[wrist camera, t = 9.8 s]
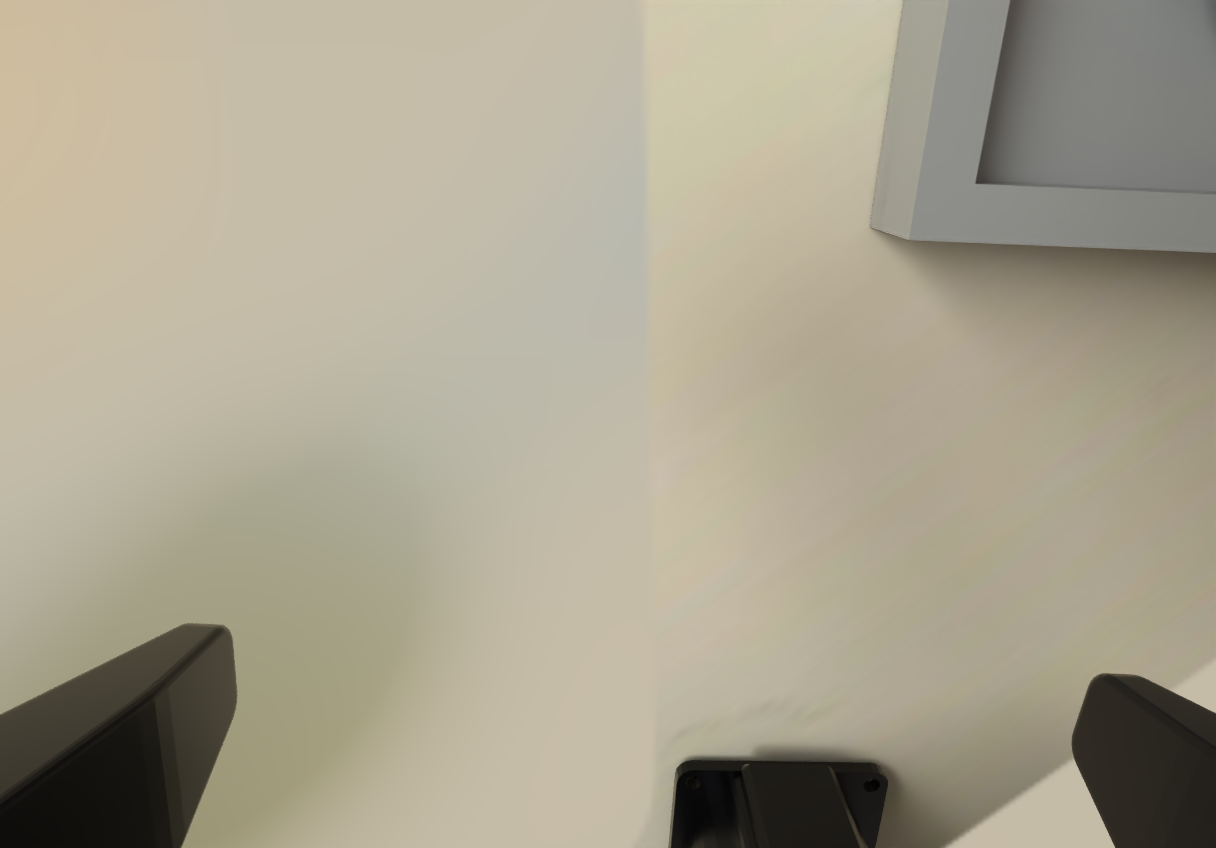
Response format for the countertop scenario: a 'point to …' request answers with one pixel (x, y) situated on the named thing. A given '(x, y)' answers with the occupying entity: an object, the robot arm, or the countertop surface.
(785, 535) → the countertop surface
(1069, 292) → the countertop surface
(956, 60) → the tray
